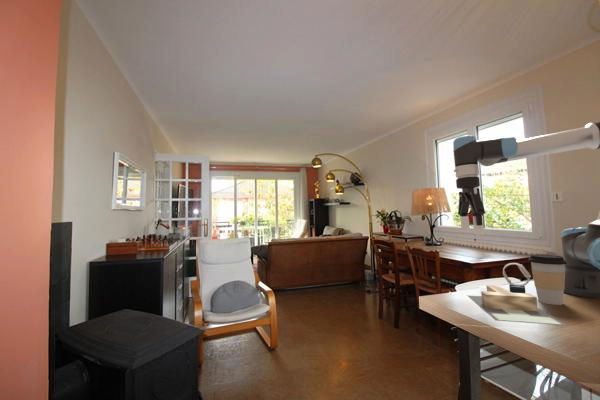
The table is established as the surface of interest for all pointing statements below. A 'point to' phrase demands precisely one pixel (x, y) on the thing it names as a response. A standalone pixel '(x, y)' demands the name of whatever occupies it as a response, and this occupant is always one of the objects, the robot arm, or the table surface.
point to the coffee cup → (548, 277)
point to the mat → (518, 314)
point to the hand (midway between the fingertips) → (472, 233)
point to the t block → (508, 299)
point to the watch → (517, 287)
